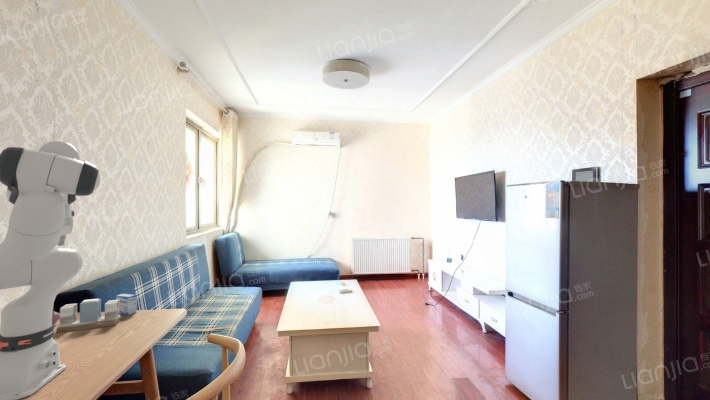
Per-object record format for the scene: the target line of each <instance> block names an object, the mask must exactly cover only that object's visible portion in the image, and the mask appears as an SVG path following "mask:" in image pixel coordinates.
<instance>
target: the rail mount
mask: <svg viewBox="0 0 710 400" xmlns="http://www.w3.org/2000/svg"><path fill="white" fill-rule="evenodd" d="M59 314H60V319H59V324H58V325H57V328H56V330H55V331H56V333H60V332H71V331H78V330H87V329H96V328H97V329H98V328H103V327H105V328H106V327H111V326H112V327H113V326H117V325H118V324H119V323H120V321H121V320H122V315H121V314H119V300H116V299H112V300H111V299H110V300H107V302H105V303H104V316H101V318H100V319H99V320H98V321H91V322H82V323H80V318H79V319H78V303H69V304H68V303H67V304H65V305H63V306H61V307H60V309H59Z"/></svg>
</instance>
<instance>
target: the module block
mask: <svg viewBox="0 0 710 400" xmlns="http://www.w3.org/2000/svg"><path fill="white" fill-rule="evenodd" d="M101 317H102V298H91V299H90V298H89V299H84V300H82V301H81V302H80V303H79V319H80V323H82V322H91V321H98V320H99V319H100V318H101Z"/></svg>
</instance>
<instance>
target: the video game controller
mask: <svg viewBox="0 0 710 400" xmlns="http://www.w3.org/2000/svg"><path fill="white" fill-rule="evenodd" d="M58 321H60V312H57V311H55V310H53V312H52V324H53V325H54V326H55V325H56V323H57V322H58Z"/></svg>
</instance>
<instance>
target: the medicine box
mask: <svg viewBox="0 0 710 400" xmlns="http://www.w3.org/2000/svg"><path fill="white" fill-rule="evenodd" d="M137 298H138V294H130V293H120V294H117V295H116V296H115V300H119V315H125V316H130V315H132V314H133V315H134V314H135V313H137V312H136V311H137V309H138V308H137V307H138V305H137V304H138V303H137V302H138V299H137Z"/></svg>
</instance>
